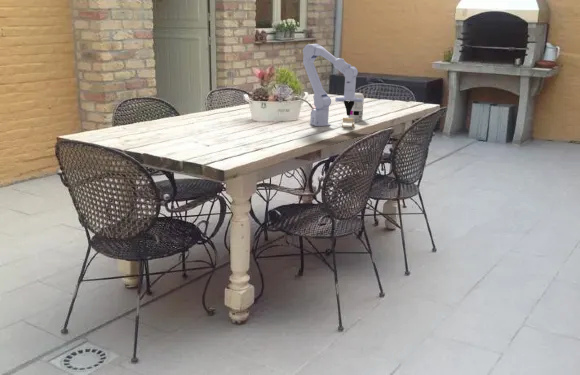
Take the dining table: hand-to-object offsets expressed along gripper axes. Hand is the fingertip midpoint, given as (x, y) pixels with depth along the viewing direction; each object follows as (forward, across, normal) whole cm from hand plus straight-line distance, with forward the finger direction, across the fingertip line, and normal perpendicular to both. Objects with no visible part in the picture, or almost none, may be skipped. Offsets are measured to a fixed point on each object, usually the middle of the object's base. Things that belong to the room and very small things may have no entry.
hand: (348, 115), depth 335 cm
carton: (+7, -1, -5) cm, 9 cm away
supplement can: (+7, -8, -28) cm, 30 cm away
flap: (+3, 0, -2) cm, 4 cm away
